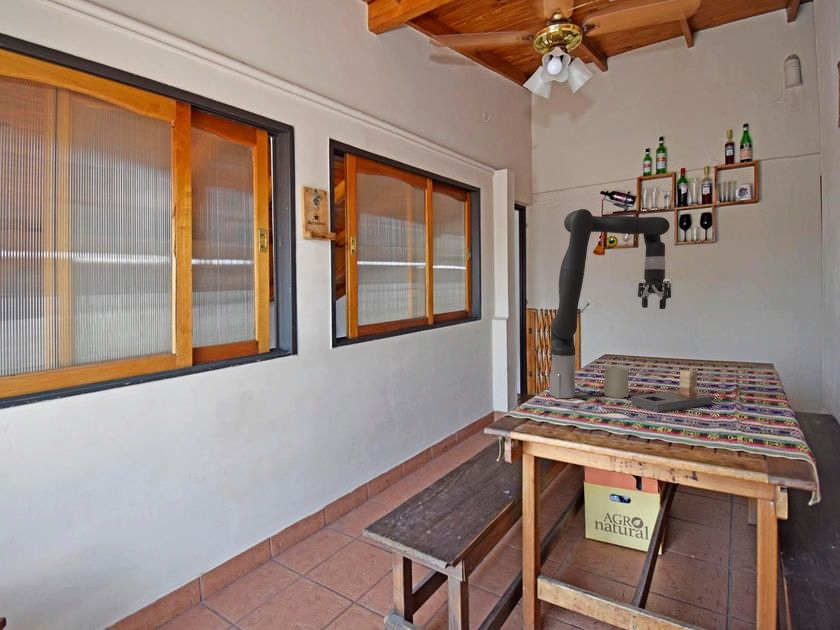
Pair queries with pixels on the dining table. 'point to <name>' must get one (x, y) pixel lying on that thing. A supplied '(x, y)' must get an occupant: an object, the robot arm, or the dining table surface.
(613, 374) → the can
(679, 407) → the grey slotted board
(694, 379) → the peg
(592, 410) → the dining table surface
